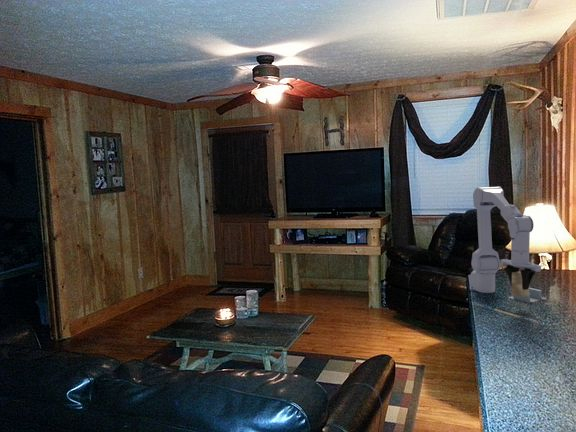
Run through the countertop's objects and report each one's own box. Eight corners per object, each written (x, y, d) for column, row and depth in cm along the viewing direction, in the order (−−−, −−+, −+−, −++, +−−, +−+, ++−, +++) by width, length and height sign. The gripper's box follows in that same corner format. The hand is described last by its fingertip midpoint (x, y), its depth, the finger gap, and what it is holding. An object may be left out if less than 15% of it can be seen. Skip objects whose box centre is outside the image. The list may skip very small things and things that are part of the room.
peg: (511, 294, 163) (511, 272, 163) (518, 292, 165) (519, 271, 165) (521, 296, 160) (522, 274, 159) (529, 295, 162) (529, 273, 161)
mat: (494, 310, 164) (494, 309, 164) (519, 304, 171) (519, 303, 171) (518, 317, 155) (518, 316, 155) (545, 311, 162) (545, 310, 162)
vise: (507, 299, 177) (507, 289, 177) (526, 295, 182) (526, 285, 182) (528, 305, 169) (528, 294, 169) (547, 300, 174) (547, 290, 173)
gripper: (494, 248, 166) (494, 285, 167) (531, 254, 153) (531, 294, 154) (508, 246, 169) (507, 282, 170) (545, 252, 156) (544, 291, 157)
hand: (519, 287), depth 162 cm, fingers closed on peg, 4 cm apart
